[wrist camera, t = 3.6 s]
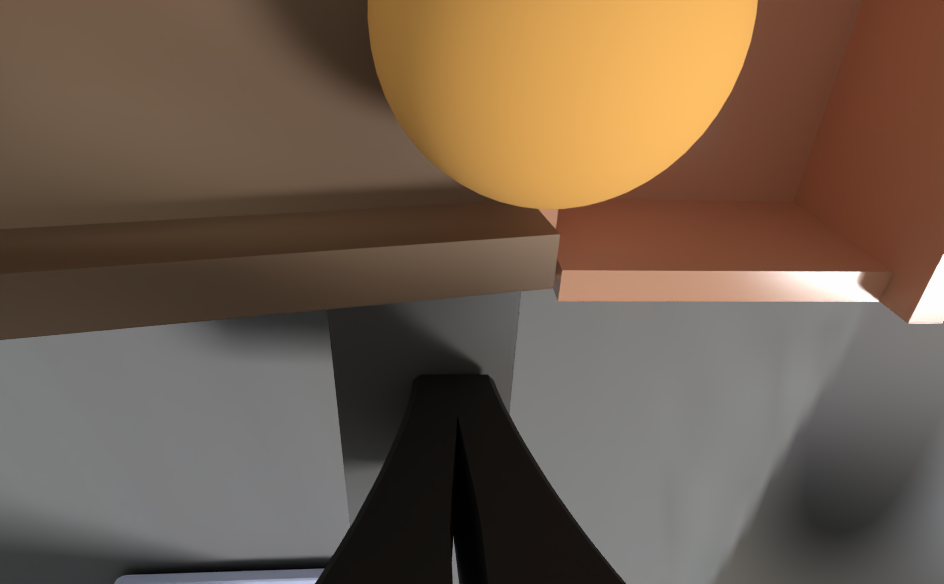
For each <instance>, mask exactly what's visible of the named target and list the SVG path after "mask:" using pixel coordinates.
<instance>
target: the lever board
mask: <svg viewBox="0 0 944 584" xmlns="http://www.w3.org/2000/svg"><path fill="white" fill-rule="evenodd" d="M559 239H560V234H559V232H558V231H557V230H556V229H555V228H554V227H553V226H552V224H551V223H550V222H549V221H548V220H547V219H546V218H545V216H544V215H543V214H542V213H541V212H540V211H539V209H535V208H526V207H519V206H515V205H511V204H506V203H502V202H499V201H496V200H493V199H491V198H488V197H486V196H483V195H480V194H478V193H476V192H474V191H473V190H471V189H469V188H467V187H465V186H463V185H461V184H460V183H458V182H456V181H455V180H454V179H452V178H451V177H449V176H448V175H446V174H445V173H444V172H442V171H441V170H440V169H439V168H437V167H436V166H435V165H434V164H433V163H432V162H431V161H430V160H429V159H428V158H426V157H425V156H424V155H423V154H422V152H421V151H420V150H419V149H418V148H417V147H416V145H415V144H414V143H413V142H412V141H411V140H410V138H409V137H408V136H407V134H406V133H405V131H404V130H403V128H402V127H401V125H400V124H399V122H398V121H397V119H396V117H395V115H394V113H393V111H392V109H391V107H390V105H389V103H388V101H387V99H386V97H385V95H384V92H383V89H382V87H381V84H380V81H379V78H378V75H377V73H376V68H375V64H374V59H373V55H372V51H371V45H370V36H369V27H368V0H0V340H6V339H16V338H27V337H38V336H48V335H59V334H70V333H80V332H91V331H102V330H112V329H123V328H134V327H144V326H155V325H166V324H177V323H187V322H198V321H209V320H219V319H230V318H241V317H251V316H262V315H273V314H283V313H294V312H305V311H316V310H326V309H327V312H328V321H329V331H330V340H331V350H332V359H333V369H334V378H335V387H336V397H337V406H338V416H339V425H340V435H341V444H342V453H343V463H344V472H345V482H346V491H347V501H348V510H349V519H350V526H351V525H352V523H353V521H354V520H355V518H356V516H357V514H358V512H359V510H360V509H361V507H362V505H363V503H364V501H365V499H366V497H367V495H368V494H369V492H370V490H371V488H372V486H373V484H374V482H375V480H376V479H377V477H378V475H379V472H380V470H381V468H382V466H383V464H384V462H385V460H386V457H387V455H388V453H389V451H390V448H391V446H392V444H393V442H394V439H395V437H396V435H397V432H398V430H399V427H400V425H401V422H402V419H403V417H404V414H405V411H406V408H407V405H408V402H409V398H410V394H411V390H412V385H413V380H414V379H415V378H417V377H418V376H419V375H476V374H488V375H489V376H490V377H491V378H492V379H493V380H494V382H495V385H496V387H497V390H498V392H499V394H500V397H501V399H502V401H503V403H504V405H505V407H506V409H507V411H508V413H509V411H510V400H511V390H512V380H513V369H514V359H515V349H516V338H517V328H518V317H519V307H520V297H521V291H529V290H540V289H551V288H553V286H554V278H555V270H556V263H557V255H558V247H559Z"/></svg>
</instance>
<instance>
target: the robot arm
mask: <svg viewBox="0 0 944 584" xmlns="http://www.w3.org/2000/svg"><path fill="white" fill-rule="evenodd" d="M453 536H454V544H455V553H456V561H457V569H458V577H459V584H626V583H625V582H624V581H623V580H622V578H621V577H620V576H619V575H618V574H617V573H616V571H615V570H614V569H613V568H612V566H611V565H610V564H609V563H608V561H607V560H606V559H605V558H604V557H603V555H602V554H601V553H600V552H599V550H598V549H597V548H596V547H595V545H594V544H593V543H592V542H591V540H590V539H589V538H588V536H587V535H586V534H585V532H584V531H583V530H582V528H581V527H580V526H579V524H578V523H577V522H576V520H575V519H574V518H573V516H572V515H571V513H570V512H569V511H568V509H567V508H566V506H565V505H564V503H563V502H562V501H561V499H560V498H559V496H558V495H557V493H556V492H555V490H554V489H553V487H552V486H551V484H550V483H549V481H548V480H547V478H546V477H545V475H544V474H543V472H542V470H541V469H540V467H539V466H538V464H537V462H536V461H535V459H534V457H533V456H532V454H531V453H530V451H529V449H528V448H527V446H526V444H525V443H524V441H523V439H522V437H521V436H520V434H519V432H518V430H517V428H516V426H515V425H514V423H513V421H512V419H511V417H510V415H509V413H508V411H507V409H506V407H505V405H504V403H503V401H502V399H501V397H500V394H499V392H498V390H497V387H496V385H495V382H494V380H493V379H492V378H491V377H490V376H489V375H488V374H476V375H419V376H418V377H417V378H415V379H414V380H413V385H412V390H411V394H410V398H409V402H408V405H407V408H406V411H405V414H404V417H403V419H402V422H401V425H400V427H399V430H398V432H397V435H396V437H395V439H394V442H393V444H392V446H391V448H390V451H389V453H388V455H387V457H386V460H385V462H384V464H383V466H382V468H381V470H380V472H379V475H378V477H377V479H376V480H375V482H374V484H373V486H372V488H371V490H370V492H369V494H368V495H367V497H366V499H365V501H364V503H363V505H362V507H361V509H360V510H359V512H358V514H357V516H356V518H355V520H354V521H353V523H352V525H351V526H350V528H349V530H348V532H347V533H346V535H345V537H344V538H343V540H342V542H341V543H340V545H339V547H338V548H337V550H336V552H335V553H334V555H333V556H332V558H331V559H330V561H329V562H328V564H327V566H326V567H325V568H323V569H293V570H262V571H231V572H200V573H169V574H139V575H124V576H121V577H119V578H117V580H116V581H115V583H114V584H453V582H452V548H453Z"/></svg>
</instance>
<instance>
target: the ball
mask: <svg viewBox="0 0 944 584" xmlns="http://www.w3.org/2000/svg"><path fill="white" fill-rule="evenodd" d="M757 2H758V0H368V27H369V36H370V45H371V51H372V55H373V59H374V64H375V68H376V73H377V75H378V78H379V81H380V84H381V87H382V89H383V92H384V95H385V97H386V99H387V101H388V103H389V105H390V107H391V109H392V111H393V113H394V115H395V117H396V119H397V121H398V122H399V124H400V125H401V127H402V128H403V130H404V131H405V133H406V134H407V136H408V137H409V138H410V140H411V141H412V142H413V143H414V144H415V145H416V147H417V148H418V149H419V150H420V151H421V152H422V154H423V155H424V156H425V157H426V158H428V159H429V160H430V161H431V162H432V163H433V164H434V165H435V166H436V167H437V168H439V169H440V170H441V171H442V172H444V173H445V174H446V175H448V176H449V177H451V178H452V179H454V180H455V181H456V182H458V183H460V184H461V185H463V186H465V187H467V188H469V189H471V190H473V191H474V192H476V193H478V194H480V195H483V196H486V197H488V198H491V199H493V200H496V201H499V202H502V203H506V204H511V205H515V206H519V207H526V208H535V209H566V208H574V207H581V206H587V205H591V204H595V203H598V202H602V201H606V200H609V199H611V198H614V197H616V196H619V195H622V194H624V193H627V192H629V191H631V190H633V189H634V188H636V187H638V186H640V185H642V184H644V183H646V182H648V181H649V180H651V179H652V178H654V177H655V176H657V175H658V174H660V173H661V172H662V171H664V170H665V169H667V168H668V167H669V166H670V165H672V164H673V163H674V162H675V161H676V160H677V159H679V158H680V157H681V156H682V155H683V154H685V153H686V152H687V150H688V149H689V148H690V147H691V146H692V145H693V144H694V143H695V142H696V141H697V140H698V139H699V138H700V137H701V136H702V135H703V133H704V132H705V131H706V129H707V128H708V127H709V125H710V124H711V123H712V121H713V120H714V119H715V117H716V116H717V115H718V113H719V111H720V110H721V108H722V106H723V105H724V103H725V101H726V100H727V98H728V96H729V95H730V93H731V91H732V89H733V87H734V85H735V82H736V80H737V78H738V76H739V74H740V71H741V69H742V67H743V64H744V61H745V58H746V55H747V52H748V49H749V46H750V42H751V38H752V34H753V29H754V24H755V19H756V14H757Z"/></svg>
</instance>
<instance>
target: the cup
mask: <svg viewBox="0 0 944 584" xmlns="http://www.w3.org/2000/svg"><path fill="white" fill-rule="evenodd" d="M539 211H540V212H541V213H542V214H543V215H544V216H545V218H546V219H547V220H548V221H549V222H550V223H551V224H552V226H553V227H554V228H555V229H556V230H557V231H558V232H559V234H560V239H559V247H558V255H557V263H556V270H555V278H554V286H553V289H554V291H555V294H556V297H557V300H558V301H841V302H881V303H882V304H884V305H885V306H886V307H887V308H889V309H890V310H891V311H893V312H894V313H895V314H897V315H898V316H899V317H900V318H902V319H903V320H904V321H905V322H907V323H908V324H917V323H923V324H925V323H942V322H943V320H944V0H758V2H757V14H756V19H755V24H754V29H753V34H752V38H751V42H750V46H749V49H748V52H747V55H746V58H745V61H744V64H743V67H742V69H741V71H740V74H739V76H738V78H737V80H736V82H735V85H734V87H733V89H732V91H731V93H730V95H729V96H728V98H727V100H726V101H725V103H724V105H723V106H722V108H721V110H720V111H719V113H718V115H717V116H716V117H715V119H714V120H713V121H712V123H711V124H710V125H709V127H708V128H707V129H706V131H705V132H704V133H703V135H702V136H701V137H700V138H699V139H698V140H697V141H696V142H695V143H694V144H693V145H692V146H691V147H690V148H689V149H688V150H687V152H686V153H685V154H683V155H682V156H681V157H680V158H679V159H677V160H676V161H675V162H674V163H673V164H672V165H670V166H669V167H668V168H667V169H665V170H664V171H662V172H661V173H660V174H658V175H657V176H655V177H654V178H652V179H651V180H649V181H648V182H646V183H644V184H642V185H640V186H638V187H636V188H634V189H633V190H631V191H629V192H627V193H624V194H622V195H619V196H616V197H614V198H611V199H609V200H606V201H602V202H598V203H595V204H591V205H587V206H581V207H574V208H566V209H539Z"/></svg>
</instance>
